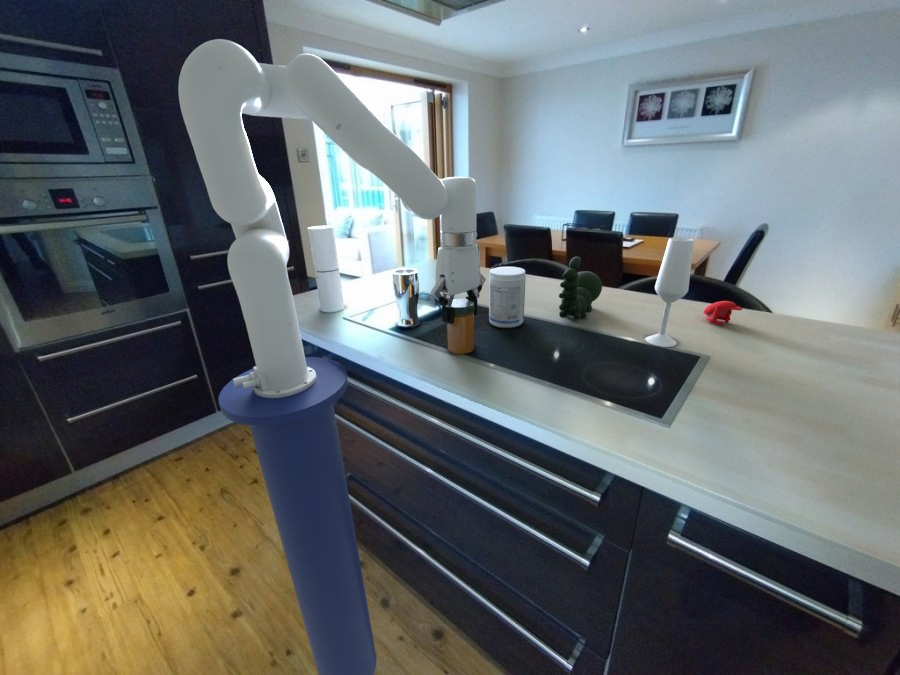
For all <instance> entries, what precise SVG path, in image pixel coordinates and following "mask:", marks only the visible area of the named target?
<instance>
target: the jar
mask: <svg viewBox="0 0 900 675" xmlns="http://www.w3.org/2000/svg"><path fill="white" fill-rule="evenodd" d="M445 323H446V322H445ZM446 348H447V351H448V352H450V353H451V354H455V355H465V354H470V353H471V352H473V351H474V350H475V315H474V312H473V313H471V314H468V315H462V316H457V315H454V323H453V324H449V323H446Z"/></svg>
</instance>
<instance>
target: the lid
mask: <svg viewBox="0 0 900 675" xmlns="http://www.w3.org/2000/svg"><path fill="white" fill-rule="evenodd" d="M451 306H452V307H453V308H454V315H457V316H462V315H468V314H471V313H473V312H474V311H475V305H474V301H472V300H469V299H466V298H454V299H453V302H452V305H451Z"/></svg>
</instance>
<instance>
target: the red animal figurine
mask: <svg viewBox="0 0 900 675" xmlns="http://www.w3.org/2000/svg"><path fill="white" fill-rule="evenodd" d="M733 311H743V308H742V307H741V306H740V305H739V306H738V305H737V304H736V303H735V302H733V301H730V300H720V301H716V302H713V303H711V304H709V305H707V306H706V307H705V308H704V310H703V312H702V313H703V315H705V318H706V321H708V322H709V323H711V324H715V325H718V326H723V325H724V322H725V323H729V321H731V315H732V314H733ZM719 320H720V321H719ZM723 321H724V322H723Z"/></svg>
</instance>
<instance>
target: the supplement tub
mask: <svg viewBox="0 0 900 675" xmlns="http://www.w3.org/2000/svg"><path fill="white" fill-rule="evenodd" d="M488 276H489V278H488V288H489V289H488V321H489V323H490V324H491V325H492V326H494V327H496V328H500V329H513V328H517V327H519V326H521V325H522V324H523V323H524V320H525V303H526V302H525V301H526V300H525V298H526V282H527V281H526V280H527V279H526V277H527V276H526V270H525V269H524V268H522V267H517V266H497V267H494V268H492V269H490V270H489V275H488Z"/></svg>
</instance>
